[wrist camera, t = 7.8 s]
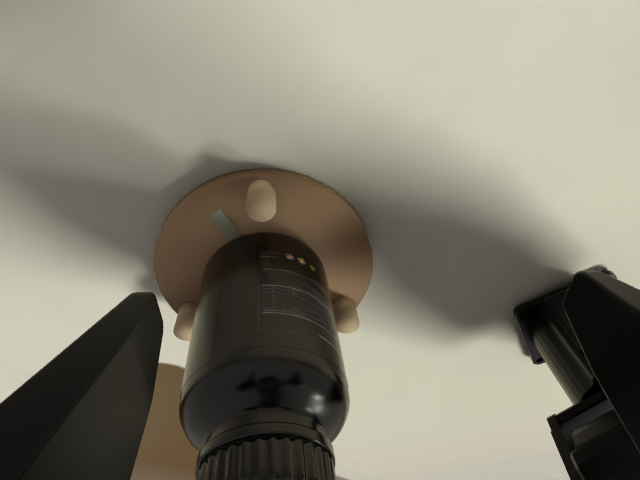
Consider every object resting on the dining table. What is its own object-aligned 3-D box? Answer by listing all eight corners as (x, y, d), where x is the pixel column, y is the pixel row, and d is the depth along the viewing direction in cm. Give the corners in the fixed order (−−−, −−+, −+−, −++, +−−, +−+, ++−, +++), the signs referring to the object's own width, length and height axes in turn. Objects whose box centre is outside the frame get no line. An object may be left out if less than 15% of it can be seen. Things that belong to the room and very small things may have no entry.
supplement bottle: (286, 333, 26) (296, 564, 17) (183, 294, 24) (122, 543, 14) (351, 258, 23) (409, 488, 13) (241, 204, 20) (214, 443, 11)
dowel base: (400, 287, 26) (411, 317, 24) (240, 359, 29) (237, 391, 26) (305, 125, 20) (309, 146, 18) (110, 236, 22) (92, 266, 20)
